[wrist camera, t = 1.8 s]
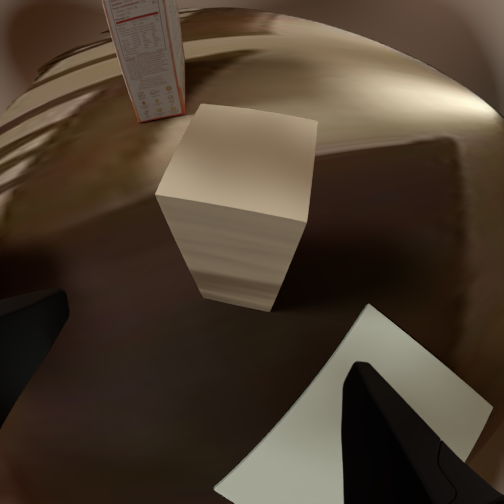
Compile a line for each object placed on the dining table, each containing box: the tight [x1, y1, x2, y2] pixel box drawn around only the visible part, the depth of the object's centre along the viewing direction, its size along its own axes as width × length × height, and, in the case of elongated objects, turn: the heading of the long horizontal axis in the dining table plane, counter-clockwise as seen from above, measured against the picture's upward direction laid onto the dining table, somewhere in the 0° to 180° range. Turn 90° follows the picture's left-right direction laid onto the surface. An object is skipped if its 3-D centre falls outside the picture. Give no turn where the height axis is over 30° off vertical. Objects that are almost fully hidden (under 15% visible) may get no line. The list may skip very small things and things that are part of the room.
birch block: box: [155, 104, 318, 312], centre depth 16 cm, size 5×5×13 cm
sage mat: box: [214, 304, 493, 504], centre depth 16 cm, size 18×18×1 cm
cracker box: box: [102, 0, 185, 123], centre depth 22 cm, size 14×6×21 cm, turn 9°
